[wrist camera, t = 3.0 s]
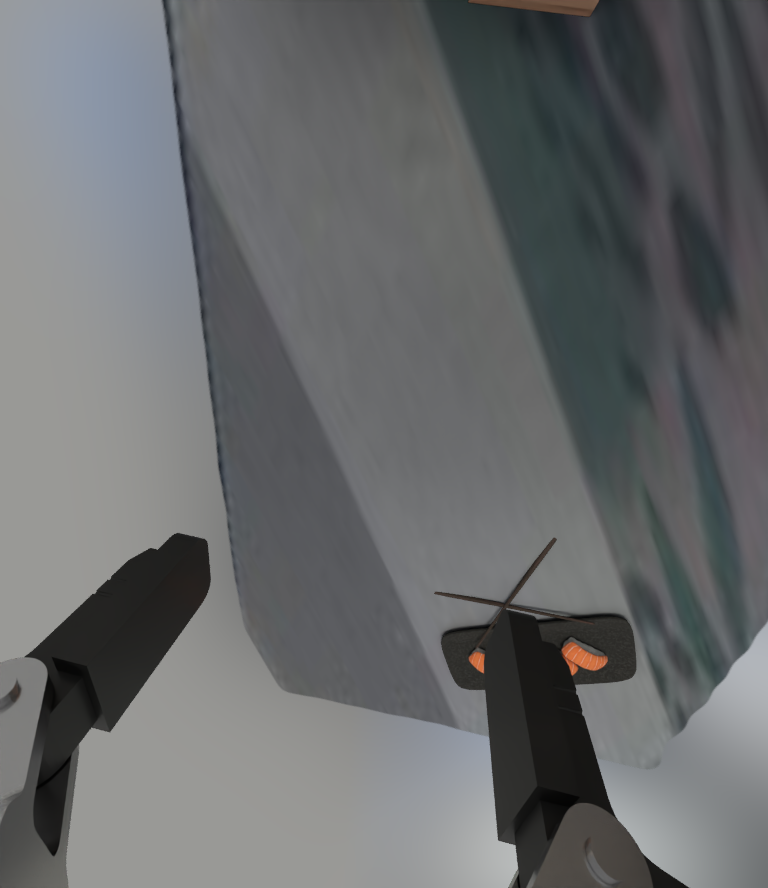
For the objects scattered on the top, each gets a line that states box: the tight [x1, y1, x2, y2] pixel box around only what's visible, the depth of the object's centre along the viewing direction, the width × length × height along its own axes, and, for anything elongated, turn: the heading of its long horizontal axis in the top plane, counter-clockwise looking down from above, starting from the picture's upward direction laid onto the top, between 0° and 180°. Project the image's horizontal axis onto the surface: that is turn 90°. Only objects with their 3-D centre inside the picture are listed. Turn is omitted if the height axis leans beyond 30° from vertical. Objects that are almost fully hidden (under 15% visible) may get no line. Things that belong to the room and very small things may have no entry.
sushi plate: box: [434, 538, 636, 690], centre depth 58 cm, size 29×30×4 cm
